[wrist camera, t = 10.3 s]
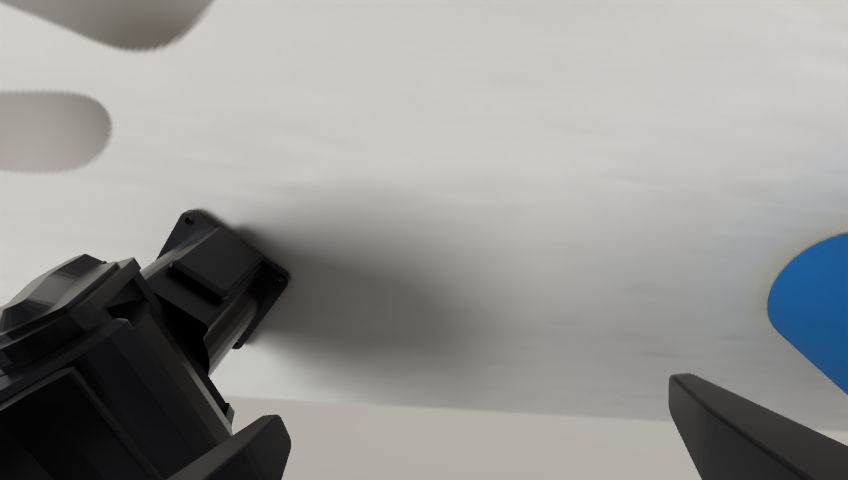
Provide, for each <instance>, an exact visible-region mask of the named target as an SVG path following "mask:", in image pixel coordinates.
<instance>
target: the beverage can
mask: <svg viewBox="0 0 848 480" xmlns="http://www.w3.org/2000/svg"><path fill="white" fill-rule="evenodd" d="M767 313H768V317H769V320H770V322H771V323H772V325H773V327H774V328H775V329H776V330H777V331H778V333H780V334H781V335H782V336H783V337H784V338H785V339H786V340H787V341H788V342H790V343H791V344H792V345H793V346H794V347H795V348H796V349H797V350H798V351H800V352H801V353H802V354H803V355H804V356H805V357H806V358H807V359H808V360H810V361H811V362H812V363H813V364H814V365H815V366H816V367H817V368H818V369H820V370H821V371H822V372H823V373H824V374H825V375H826V376H827V377H828V378H829V379H831V380H832V381H833V382H834V383H835V384H836V385H837V386H838V387H839V388H841V389H842V390H843V391H844V392H845V393H846V394H847V395H848V233H843V234H839V235H835V236H832V237H829V238H826V239H824V240H821V241H819V242H817V243H815V244H813V245H811V246H809V247H808V248H806V249H805V250H803V251H801V252H800V253H799V254H797V255H796V256H795V257H794V258H792V259H791V260H790V261H789V262H788V263H787V264H786V265H785V266H784V267H783V268H782V270H781V271H780V272H779V273H778V275H777V276H776V278H775V279H774V281H773V283H772V285H771V287H770V290H769V293H768V297H767Z"/></svg>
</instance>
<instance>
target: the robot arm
mask: <svg viewBox="0 0 848 480" xmlns="http://www.w3.org/2000/svg"><path fill="white" fill-rule="evenodd" d="M189 217H191V218H192V219H193V220H194V223H193V222H191V221H190V219H189ZM140 269H141V267H140V266H139V264H138V263H137V261H136V260H135V258H134V257H133V258H129V259H126V260H123V261H120V262H111V263H107V262H106V261H101V260H98V259H96V258H94V257H91V256H89V255H87V254H83V255H80V256H77V257H74V258H72V259H70V260H68V261H66V262H64V263H62V264H61V265H59V266H57V267H55V268H53V269H51V270H50V271H48V272H46V273H44V274H43V275H41V276H39V277H38V278H36V279H35V280H33V281H32V282H30V283H29V284H28V285H27V286H26V287H25V288H24V289H23V290H22V291H21V292H20V293H19V294H17V295H16V296H15V297H14V298H13V299H12V300H11V301H10V302H9V303H8V304H6V305H4V306H2V307H0V480H281V479H282V476H283V472H284V469H285V466H286V463H287V459H288V456H289V453H290V449H291V439H290V436H289V434H288V432H287V430H286V427H285V425H284V423H283V421H282V419H281V417H280V416H279V415H268V416H267V415H266V416H262V417H260V418H259V419H258V420H256V421H254V422H253V423H251V424H250V425H248V426H247V427H245V428H244V429H242V430H241V431H239V432H238V433H236V434H235V435H233V434H232V428H231V426H232V420H233V416H234V410H233V409H232V407H231V406H230V404H229V403H225V401H224V399H223V398H222V396H221V395H220V393H219V392H218V390H217V389H216V387H215V386H214V384H213V383H212V381H211V380H210V378H209V376H210V375H211V374H212V373H213V371H214V370H215V369H216V367H217V366H218V365H219V363H220V362H221V361H222V359H223V358H224V357H225V356H226V354H227V353H228V352H229V350H230V349H231V348H232V349H240V348H241V347H242V346H243V344H244V343H245V342H246V340H247V339H248V338H249V336H250V335H251V334H252V332H253V331H254V330H255V328H256V327H257V326H258V324H259V323H260V322H261V320H262V319H263V318H264V316H265V315H266V314H267V312H268V311H269V309H270V308H271V307H272V305H273V304H274V303H275V301H276V300H277V299H278V297H279V296H280V295H281V293H282V292H283V291H284V289H285V288H286V287H287V285H288V284H289V283H290V280H291V277H290V275H289V273H288V272H287V271H285V270H284V269H282V268H281V267H279V266H278V265H276V264H275V263H273V262H272V261H270V260H269V259H267V258H266V257H264V256H263V255H261V253H260V252H258V251H257V250H255V249H254V248H252V247H251V246H249V245H248V244H246V243H245V242H243V241H242V240H240V239H239V238H237V237H236V236H234V235H233V234H231V233H230V232H228V231H227V230H225V229H224V228H221V227H220V226H218V225H217V224H215V223H214V222H212V221H211V220H209V219H208V218H206V217H205V216H203V215H202V214H200V213H199V212H197V211H195V210H188V211H186V212H184V213H183V214H182V215H181V216H180V218H179V220H178V222H177V223H176V225H175V227H174V229H173V231H172V232H171V234H170V236H169V238H168V239H167V241H166V243H165V245H164V247H163V248H162V250H161V252H160V254H159V256H158V257H157V259H156V261H155V262H153V263H152V264H150V265H149V266H147V267H146V268H145V269H143V270H142V271H139V270H140ZM278 277H281V278H282V279H283V280H284V281H280V280H279V279H278ZM236 341H238V342H236ZM669 409H670V413H671V416H672V418H673V420H674V423H675V425H676V427H677V429H678V430H679V433H680V435H681V437H682V439H683V441H684V443H685V446H686V448H687V450H688V452H689V454H690V456H691V458H692V460H693V462H694V464H695V466H696V468H697V470H698V472H699V474H700V477H701V478H702V480H848V446H846V445H844V444H842V443H840V442H837V441H836V440H833V439H831V438H829V437H827V436H825V435H823V434H820V433H818V432H816V431H814V430H812V429H810V428H808V427H805V426H803V425H801V424H799V423H797V422H795V421H792V420H790V419H788V418H786V417H784V416H782V415H780V414H777V413H775V412H773V411H771V410H769V409H767V408H764V407H762V406H760V405H758V404H756V403H754V402H752V401H749V400H747V399H745V398H743V397H741V396H739V395H736V394H734V393H732V392H730V391H728V390H726V389H723V388H721V387H719V386H717V385H715V384H713V383H711V382H708V381H706V380H704V379H702V378H700V377H698V376H695V375H693V374H690V373H684V374H674V375H671V376H670V378H669Z"/></svg>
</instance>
